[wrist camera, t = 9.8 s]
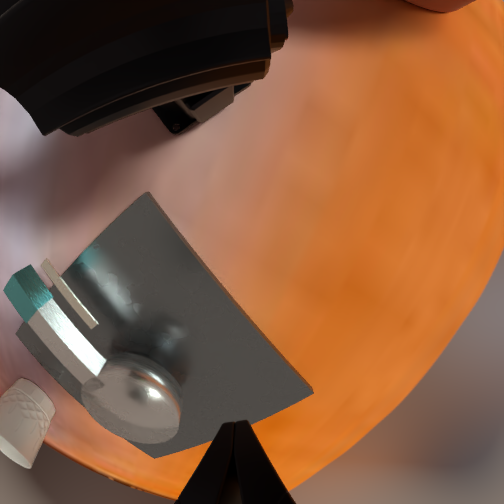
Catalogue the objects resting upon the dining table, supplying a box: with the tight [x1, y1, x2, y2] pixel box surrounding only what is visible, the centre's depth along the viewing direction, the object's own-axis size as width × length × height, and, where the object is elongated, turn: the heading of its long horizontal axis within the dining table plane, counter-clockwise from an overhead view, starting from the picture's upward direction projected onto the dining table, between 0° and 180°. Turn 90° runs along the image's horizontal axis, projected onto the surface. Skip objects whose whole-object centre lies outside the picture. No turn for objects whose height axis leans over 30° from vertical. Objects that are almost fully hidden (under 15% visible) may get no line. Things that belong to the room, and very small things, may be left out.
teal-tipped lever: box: [3, 264, 184, 444], centre depth 17 cm, size 17×8×3 cm, turn 35°
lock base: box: [16, 192, 314, 459], centre depth 21 cm, size 24×22×2 cm
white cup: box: [0, 378, 56, 468], centre depth 19 cm, size 8×8×10 cm
